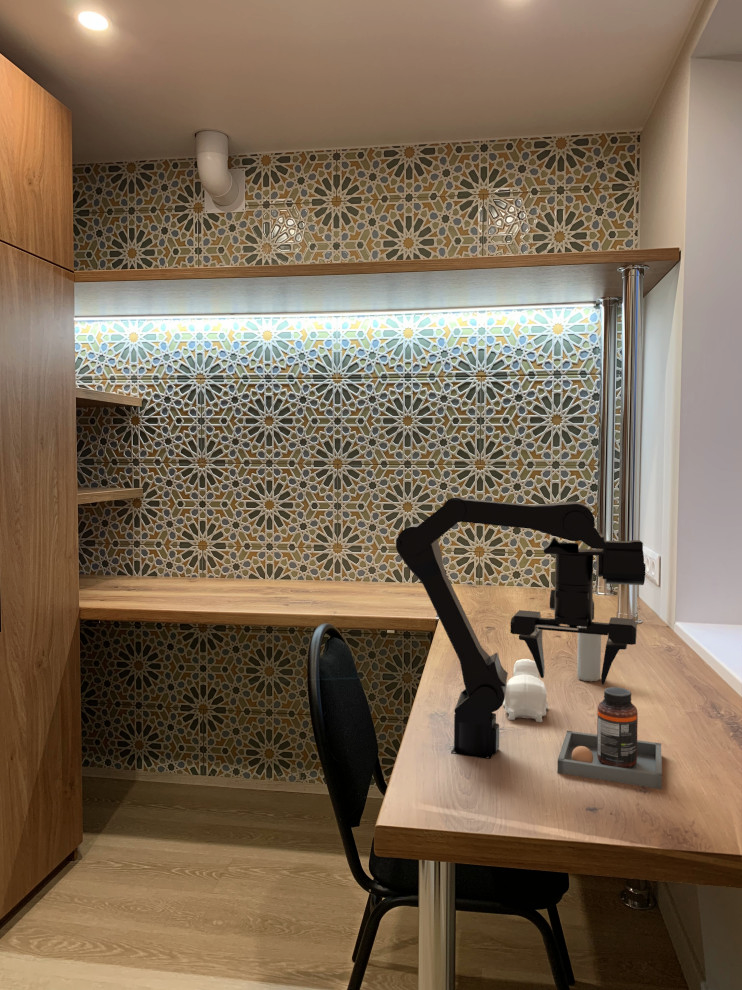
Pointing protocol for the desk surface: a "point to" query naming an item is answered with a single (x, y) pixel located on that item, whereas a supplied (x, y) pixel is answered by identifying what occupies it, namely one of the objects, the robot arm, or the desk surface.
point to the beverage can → (589, 656)
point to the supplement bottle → (617, 729)
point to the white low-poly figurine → (525, 692)
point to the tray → (640, 774)
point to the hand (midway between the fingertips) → (572, 680)
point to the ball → (582, 754)
